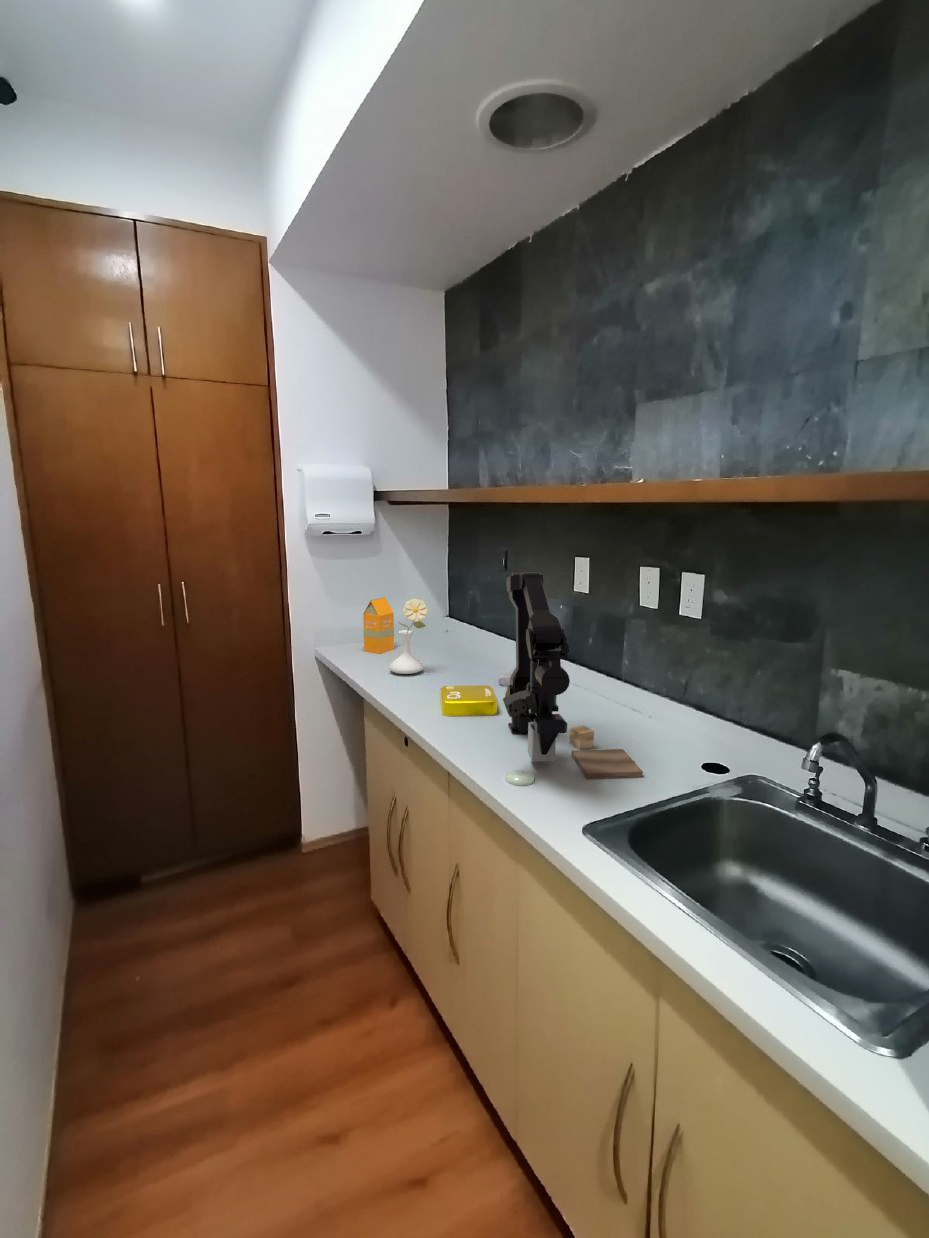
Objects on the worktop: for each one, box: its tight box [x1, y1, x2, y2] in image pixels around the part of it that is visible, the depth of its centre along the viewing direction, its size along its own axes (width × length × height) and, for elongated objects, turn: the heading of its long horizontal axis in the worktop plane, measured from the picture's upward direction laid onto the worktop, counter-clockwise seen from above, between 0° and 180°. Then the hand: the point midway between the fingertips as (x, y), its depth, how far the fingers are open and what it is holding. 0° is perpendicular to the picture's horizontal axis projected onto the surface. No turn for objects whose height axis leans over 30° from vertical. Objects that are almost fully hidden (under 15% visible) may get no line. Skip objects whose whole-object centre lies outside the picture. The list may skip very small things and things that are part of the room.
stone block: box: [498, 667, 516, 688], centre depth 196 cm, size 12×5×10 cm
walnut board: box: [571, 748, 644, 780], centre depth 136 cm, size 12×12×1 cm
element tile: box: [439, 684, 498, 717], centre depth 174 cm, size 15×15×5 cm
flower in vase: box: [388, 597, 429, 675], centre depth 206 cm, size 13×11×25 cm
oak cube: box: [568, 725, 595, 750], centre depth 148 cm, size 4×4×4 cm
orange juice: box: [362, 596, 395, 655], centre depth 236 cm, size 8×9×20 cm
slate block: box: [527, 722, 557, 762], centre depth 136 cm, size 5×5×7 cm
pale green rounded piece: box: [504, 769, 535, 787], centre depth 130 cm, size 6×6×1 cm
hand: (541, 749), depth 136 cm, fingers closed on slate block, 5 cm apart
